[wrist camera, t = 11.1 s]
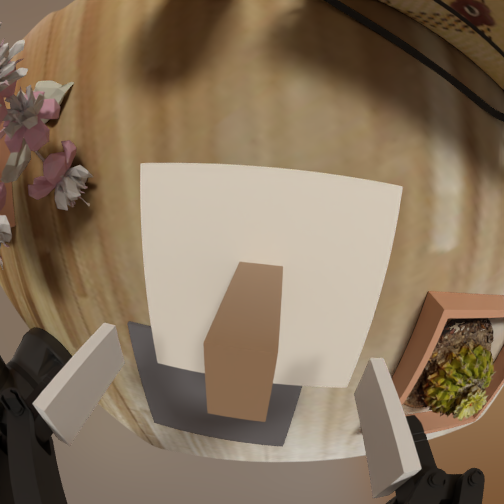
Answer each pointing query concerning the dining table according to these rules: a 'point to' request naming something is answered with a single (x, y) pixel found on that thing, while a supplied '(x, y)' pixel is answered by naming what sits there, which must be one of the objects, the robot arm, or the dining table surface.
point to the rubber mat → (204, 399)
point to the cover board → (271, 233)
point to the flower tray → (0, 159)
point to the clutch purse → (453, 34)
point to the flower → (34, 138)
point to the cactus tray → (426, 338)
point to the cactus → (457, 371)
